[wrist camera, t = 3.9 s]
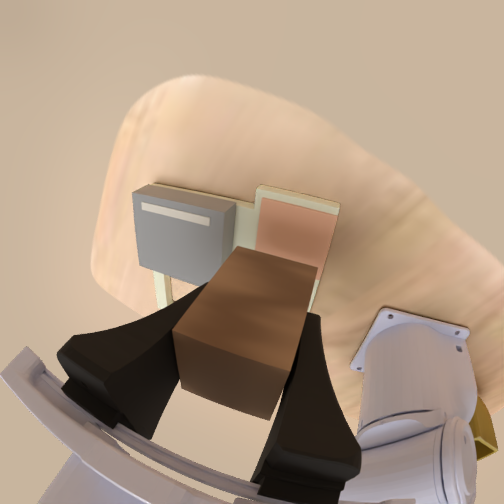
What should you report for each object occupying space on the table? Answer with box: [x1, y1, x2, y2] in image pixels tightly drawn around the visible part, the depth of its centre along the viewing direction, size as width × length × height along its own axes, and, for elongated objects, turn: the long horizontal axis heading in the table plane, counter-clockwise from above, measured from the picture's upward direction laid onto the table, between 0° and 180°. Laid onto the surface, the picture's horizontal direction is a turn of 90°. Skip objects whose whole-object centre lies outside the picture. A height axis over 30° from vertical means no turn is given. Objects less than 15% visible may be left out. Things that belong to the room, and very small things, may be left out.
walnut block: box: [172, 246, 318, 420], centre depth 12 cm, size 4×4×6 cm
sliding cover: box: [132, 184, 236, 287], centre depth 20 cm, size 8×6×2 cm
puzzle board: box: [151, 183, 340, 312], centre depth 22 cm, size 14×14×1 cm
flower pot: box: [469, 395, 498, 461], centre depth 19 cm, size 9×9×9 cm
